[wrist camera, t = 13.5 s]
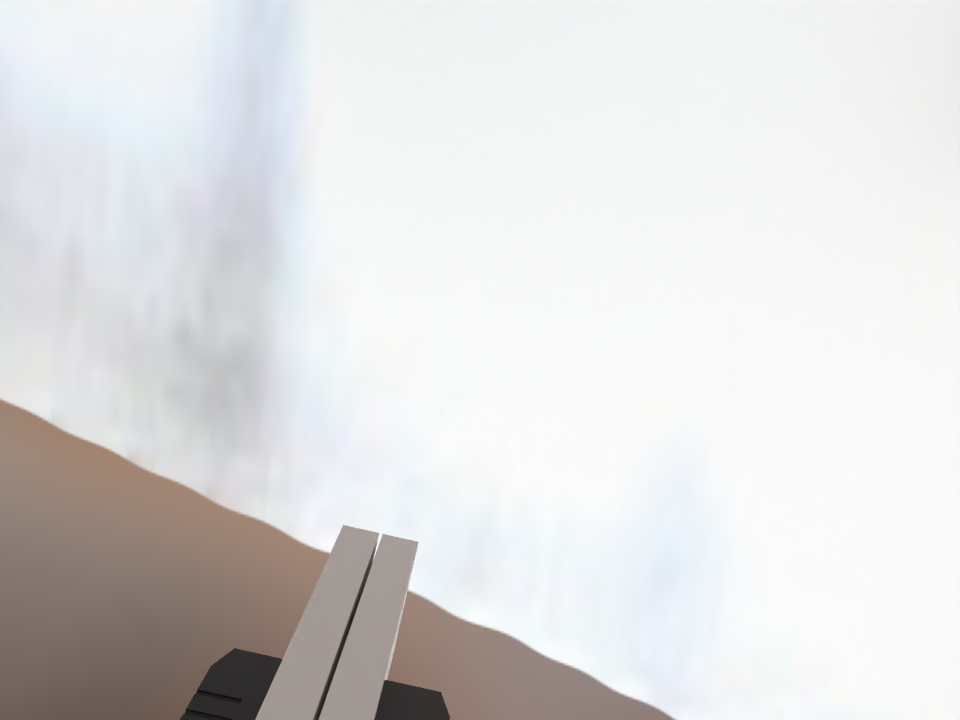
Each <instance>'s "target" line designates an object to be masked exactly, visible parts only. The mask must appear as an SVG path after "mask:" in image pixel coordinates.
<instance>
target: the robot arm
mask: <svg viewBox="0 0 960 720" xmlns="http://www.w3.org/2000/svg"><path fill="white" fill-rule="evenodd" d="M378 536H379V533H376V532H372V531H367V530H363V529H358V528H354V527H349V526H345V525H343V527H342V529H341V532H340V534H339V536H338V538H337V540H336V543H335V545H334V547H333V549H332V551H331V554H330V556H329V558H328V560H327V562H326V565H325V567H324V569H323V571H322V574H321V576H320V578H319V580H318V582H317V585H316V587H315V590H314V591H313V593H312V596H311V598H310V600H309V602H308V604H307V607H306V609H305V611H304V613H303V615H302V618H301V620H300V622H299V624H298V627H297V629H296V631H295V633H294V635H293V637H292V640H291V642H290V644H289V646H288V649H287V651H286V653H285V655H284V657H283V659H280V658H276V657H271V656H267V655H262V654H258V653H253V652H249V651H244V650H240V649H233V650H232V651H230V652H229V653H228V654H226V655H225V656H224V657H222V658H221V659H220V660H219V661H217V662H216V663H214V664H213V665H212V666H211V667H210V669H209V670H208V672H207V674H206V676H205V677H204V679H203V681H202V683H201V684H200V686H199V688H198V690H197V693H196V694H195V695H194V696H193V698H192V700H191V701H190V703H189V705H188V707H187V708H186V712H185V714H183V715H182V717H181V719H180V720H449V719H450V716H449V713H448V711H447V708H446V705H445V703H444V700H443V697H442V694H441V692H438V691H433V690H429V689H424V688H420V687H415V686H411V685H406V684H402V683H397V682H393V681H388V680H387V677H388V673H389V669H390V665H391V661H392V657H393V653H394V649H395V644H396V639H397V635H398V631H399V626H400V622H401V618H402V612H403V609H404V604H405V600H406V595H407V591H408V586H409V582H410V577H411V573H412V568H413V564H414V559H415V555H416V550H417V546H418V542H416V541H412V540H407V539H403V538H398V537H394V536H389V535H385V534H383V535H382V538H381V541H380V544H379V547H378V549H377V552H376V555H375V550H376V545H377V540H378ZM374 555H375V558H374ZM373 560H374V561H373Z"/></svg>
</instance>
